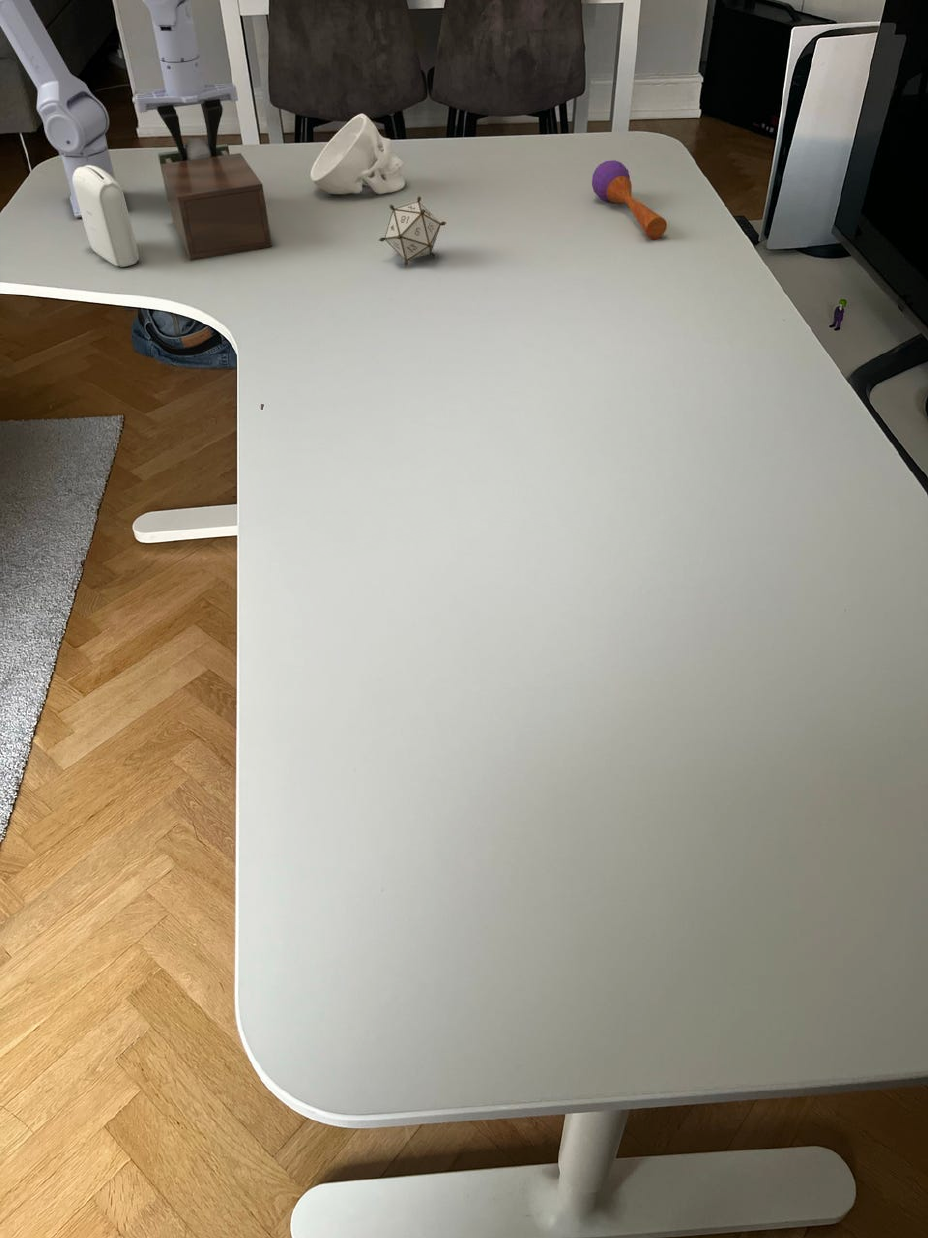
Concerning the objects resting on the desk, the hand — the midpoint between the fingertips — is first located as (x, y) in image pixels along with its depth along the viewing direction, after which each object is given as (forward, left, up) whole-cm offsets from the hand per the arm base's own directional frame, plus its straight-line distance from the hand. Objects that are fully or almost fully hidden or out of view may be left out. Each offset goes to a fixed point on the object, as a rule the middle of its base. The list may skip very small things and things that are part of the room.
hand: (198, 156), depth 153 cm
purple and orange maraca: (+28, +60, -9) cm, 67 cm away
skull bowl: (0, +25, -9) cm, 26 cm away
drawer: (-1, 0, -8) cm, 8 cm away
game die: (+30, +24, -9) cm, 40 cm away
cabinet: (+10, 0, -8) cm, 13 cm away
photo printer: (+12, -16, -9) cm, 22 cm away
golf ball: (0, 0, -2) cm, 2 cm away
